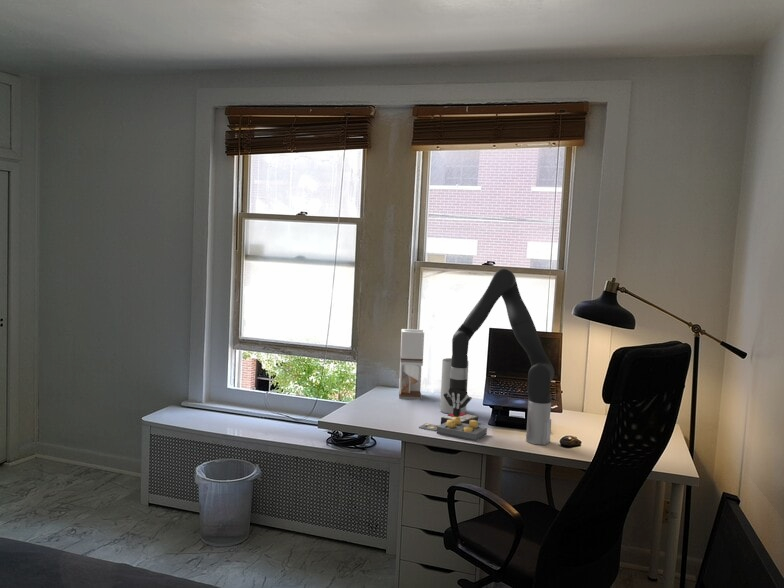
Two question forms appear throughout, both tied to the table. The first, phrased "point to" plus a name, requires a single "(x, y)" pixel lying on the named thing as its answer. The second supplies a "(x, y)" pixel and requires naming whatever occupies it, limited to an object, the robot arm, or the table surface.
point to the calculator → (464, 417)
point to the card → (429, 427)
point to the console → (462, 432)
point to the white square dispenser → (411, 363)
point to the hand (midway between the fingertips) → (456, 416)
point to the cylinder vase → (447, 387)
